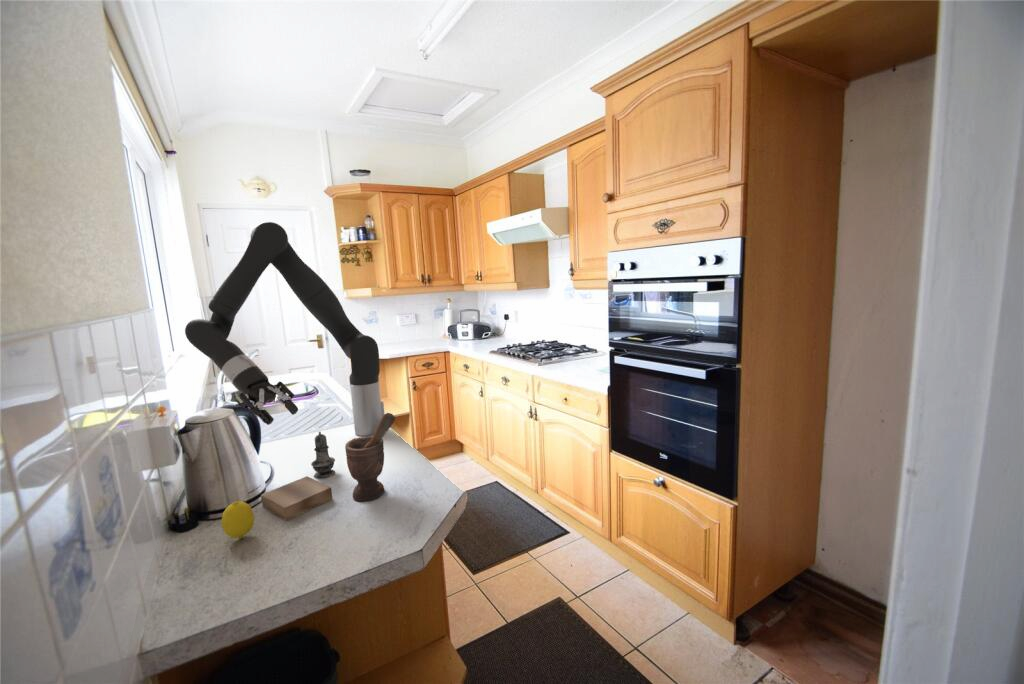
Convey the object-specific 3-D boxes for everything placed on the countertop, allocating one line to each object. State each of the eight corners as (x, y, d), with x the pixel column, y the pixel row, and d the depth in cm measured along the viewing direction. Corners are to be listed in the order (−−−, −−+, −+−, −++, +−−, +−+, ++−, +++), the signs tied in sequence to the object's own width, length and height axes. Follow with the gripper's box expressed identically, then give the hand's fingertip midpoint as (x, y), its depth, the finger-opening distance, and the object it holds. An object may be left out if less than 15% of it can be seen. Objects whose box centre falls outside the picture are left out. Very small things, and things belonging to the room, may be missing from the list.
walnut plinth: (308, 487, 111) (306, 476, 110) (332, 499, 104) (331, 487, 104) (262, 506, 102) (260, 494, 102) (286, 520, 96) (284, 507, 95)
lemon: (262, 532, 91) (257, 496, 90) (238, 548, 86) (232, 510, 85) (243, 528, 93) (237, 493, 92) (218, 544, 88) (212, 506, 87)
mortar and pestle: (399, 480, 112) (392, 405, 109) (402, 496, 104) (395, 414, 101) (350, 490, 108) (342, 411, 105) (350, 506, 100) (341, 422, 97)
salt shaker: (340, 469, 121) (335, 427, 119) (329, 479, 115) (324, 435, 113) (320, 469, 121) (315, 427, 119) (308, 479, 115) (302, 435, 114)
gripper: (227, 371, 113) (269, 416, 111) (272, 360, 126) (310, 400, 125) (215, 390, 115) (255, 435, 113) (260, 378, 128) (296, 417, 127)
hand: (284, 417), depth 119 cm, fingers open, 8 cm apart
